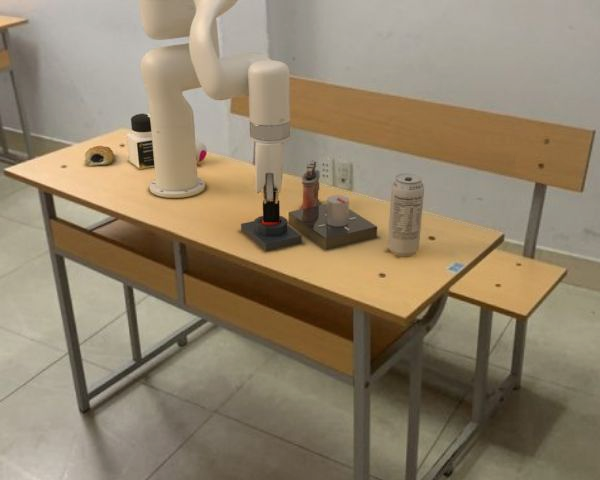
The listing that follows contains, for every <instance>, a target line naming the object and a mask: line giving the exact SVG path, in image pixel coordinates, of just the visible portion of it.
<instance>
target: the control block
mask: <svg viewBox="0 0 600 480" xmlns="http://www.w3.org/2000/svg"><path fill="white" fill-rule="evenodd" d="M262 219H263V215H260V216H258V217H257V218H254V220H251V221H247V222H242V223H240V232H242V233H243V234H244V235H245V236H246V237H248V238H249V239H250V240H252V242H254V243H255V244H256V245H257V246H259V247H260V248H261V249H262V250H263V251H264V252H270V251H273V250H278V249H282V248H287V247H291V246H295V245H299V244H302V242H303V235H302V234H300V233H299V232H298V231H296V230H295V229H294V228H292V227H291V226H289V225H288V219H287V218H286V217H284V216H281V215H280V219H279V220H280V224H278V225H274V226H267V225H263V224H262Z"/></svg>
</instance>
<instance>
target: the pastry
mask: <svg viewBox="0 0 600 480" xmlns="http://www.w3.org/2000/svg"><path fill="white" fill-rule="evenodd" d="M84 154H85V155H84V156H85V158H84V163H85V164H86V165H87V166H88V167H96V166H105V165H109V164H111V163H113V160H114V157H115V154H114V151H113V149H111V147H109V146H105V145H104V146H103V145H96V146H92V147H90V148H88V150H87V151H86V152H85V153H84Z"/></svg>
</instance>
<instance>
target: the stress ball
mask: <svg viewBox="0 0 600 480" xmlns="http://www.w3.org/2000/svg"><path fill="white" fill-rule="evenodd" d="M195 144H196V160H197V166H200V167H201V165H200V164H198V163H201V162H203V161H204V160H205V158H206V157H207V155H208V149H207V146H206V144H205V143H204V142H203V141H201V140H199V139H195Z"/></svg>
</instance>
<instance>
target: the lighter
mask: <svg viewBox="0 0 600 480" xmlns="http://www.w3.org/2000/svg"><path fill="white" fill-rule="evenodd" d="M305 167H306V168H305V172H304V173H303V175H302V178H301V184H302V205H301V209H305V208H310V207H315V206H319V205H320V199H319V191H320V182H319V180H320V172H321V171H320V170H319V169H316V168H317V161H316V160H311V161H310V162H309V164H308V163H307V164H306V166H305Z"/></svg>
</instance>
